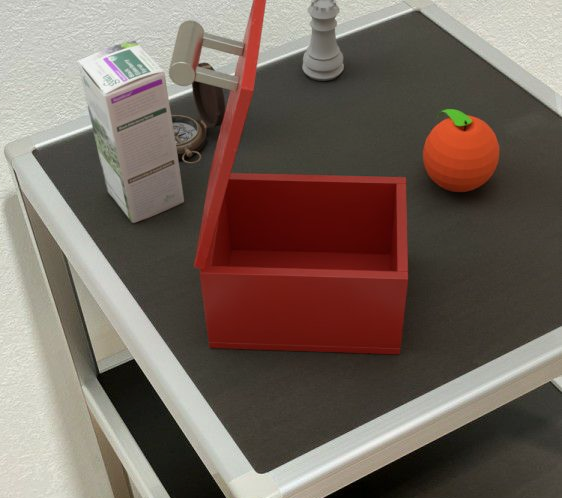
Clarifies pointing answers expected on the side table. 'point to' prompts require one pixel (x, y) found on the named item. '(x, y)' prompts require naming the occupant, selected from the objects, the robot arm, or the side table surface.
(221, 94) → the compass
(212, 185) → the red box lid
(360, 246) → the red box
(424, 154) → the clementine
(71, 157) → the side table surface
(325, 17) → the rook chess piece
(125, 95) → the syrup box
